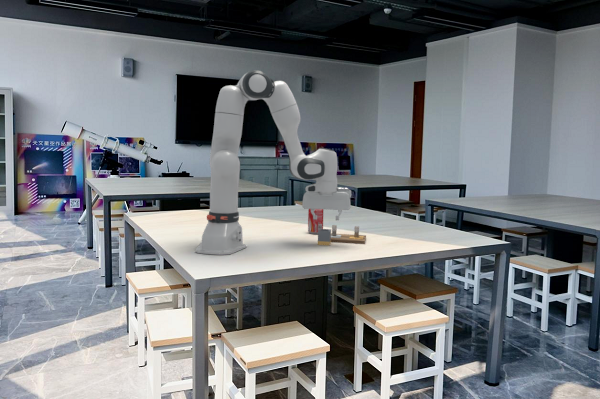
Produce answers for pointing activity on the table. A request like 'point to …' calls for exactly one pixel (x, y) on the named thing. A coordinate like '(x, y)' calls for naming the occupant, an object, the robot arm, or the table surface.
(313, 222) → the soda can
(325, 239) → the sleeve
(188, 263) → the table surface
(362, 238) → the pin board
